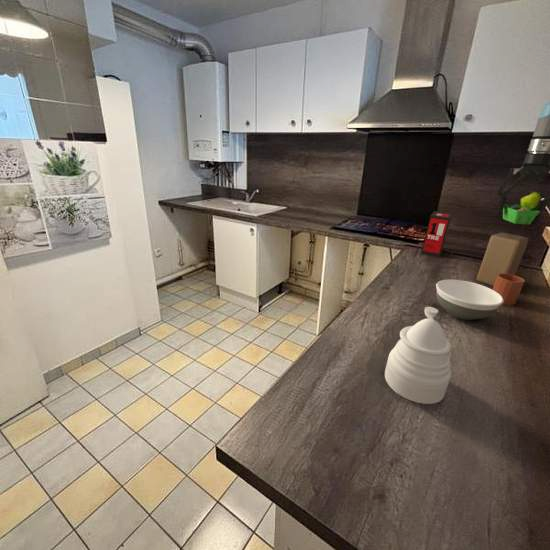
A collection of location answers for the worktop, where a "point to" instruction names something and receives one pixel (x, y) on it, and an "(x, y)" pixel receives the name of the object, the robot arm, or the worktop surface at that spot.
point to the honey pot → (420, 362)
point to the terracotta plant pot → (508, 287)
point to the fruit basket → (523, 210)
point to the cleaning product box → (436, 233)
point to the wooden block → (501, 256)
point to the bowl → (467, 299)
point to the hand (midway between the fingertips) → (517, 216)
